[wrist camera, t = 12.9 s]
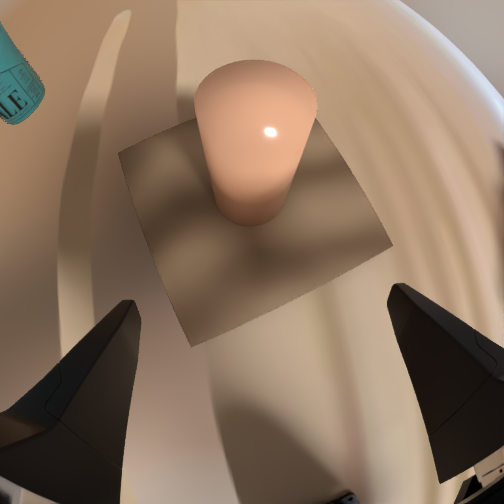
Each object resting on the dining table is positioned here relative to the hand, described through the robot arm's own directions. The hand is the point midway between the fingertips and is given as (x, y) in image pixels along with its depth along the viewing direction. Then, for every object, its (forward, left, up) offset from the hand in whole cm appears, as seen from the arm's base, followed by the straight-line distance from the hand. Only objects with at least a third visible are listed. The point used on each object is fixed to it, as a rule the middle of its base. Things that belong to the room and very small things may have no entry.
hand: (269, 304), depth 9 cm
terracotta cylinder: (+7, -3, -9) cm, 12 cm away
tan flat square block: (+7, -3, -11) cm, 14 cm away
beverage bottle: (+30, +15, -11) cm, 36 cm away
